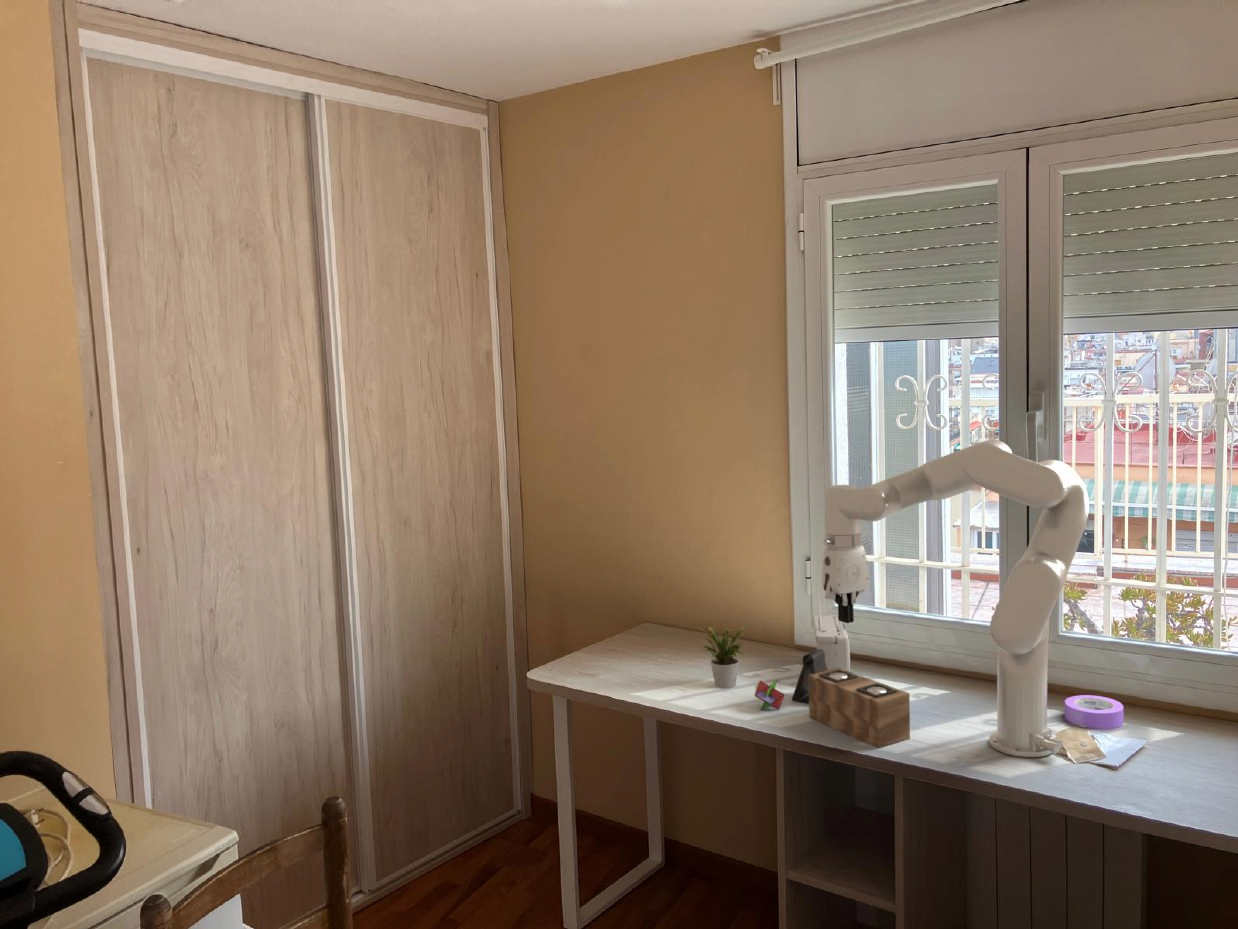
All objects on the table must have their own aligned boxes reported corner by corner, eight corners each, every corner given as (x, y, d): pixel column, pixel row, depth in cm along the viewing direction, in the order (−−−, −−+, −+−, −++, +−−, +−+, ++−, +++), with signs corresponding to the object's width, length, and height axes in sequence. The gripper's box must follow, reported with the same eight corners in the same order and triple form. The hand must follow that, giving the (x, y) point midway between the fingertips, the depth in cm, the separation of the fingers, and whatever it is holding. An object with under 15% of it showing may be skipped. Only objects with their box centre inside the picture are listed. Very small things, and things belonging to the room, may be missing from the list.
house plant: (687, 693, 245) (685, 629, 243) (696, 675, 259) (694, 614, 257) (745, 696, 242) (743, 630, 240) (751, 678, 255) (749, 616, 253)
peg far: (851, 714, 223) (851, 676, 222) (838, 718, 221) (837, 679, 220) (839, 709, 226) (839, 671, 225) (826, 713, 224) (825, 674, 223)
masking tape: (1054, 720, 219) (1055, 703, 218) (1079, 707, 226) (1079, 691, 226) (1108, 734, 210) (1109, 717, 209) (1132, 720, 217) (1132, 703, 217)
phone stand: (791, 700, 237) (790, 652, 236) (803, 693, 242) (802, 645, 241) (826, 707, 232) (825, 657, 231) (837, 700, 237) (836, 651, 235)
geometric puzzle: (796, 698, 232) (777, 669, 234) (783, 707, 227) (764, 677, 229) (774, 712, 236) (755, 683, 238) (761, 721, 230) (742, 691, 233)
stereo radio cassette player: (850, 688, 244) (849, 609, 242) (816, 688, 246) (815, 609, 243) (845, 662, 265) (843, 589, 263) (813, 662, 266) (812, 589, 264)
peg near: (890, 731, 212) (890, 690, 211) (877, 735, 210) (876, 694, 210) (877, 725, 216) (877, 685, 215) (863, 729, 214) (863, 689, 213)
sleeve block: (909, 738, 211) (909, 691, 210) (878, 748, 207) (878, 700, 206) (839, 709, 230) (838, 665, 229) (809, 717, 226) (808, 673, 225)
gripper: (829, 547, 213) (832, 631, 214) (880, 538, 220) (882, 618, 222) (806, 543, 219) (809, 624, 221) (856, 534, 227) (858, 612, 228)
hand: (846, 621), depth 221 cm, fingers closed
